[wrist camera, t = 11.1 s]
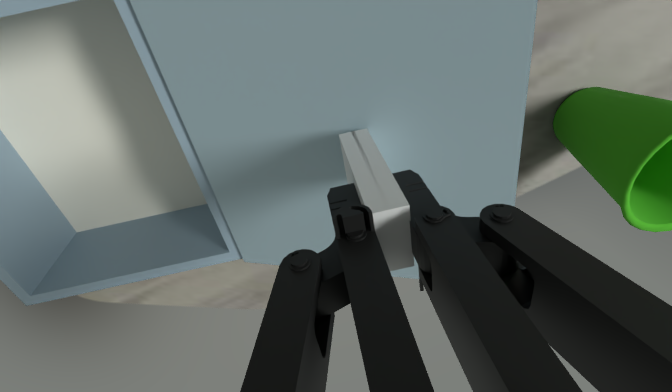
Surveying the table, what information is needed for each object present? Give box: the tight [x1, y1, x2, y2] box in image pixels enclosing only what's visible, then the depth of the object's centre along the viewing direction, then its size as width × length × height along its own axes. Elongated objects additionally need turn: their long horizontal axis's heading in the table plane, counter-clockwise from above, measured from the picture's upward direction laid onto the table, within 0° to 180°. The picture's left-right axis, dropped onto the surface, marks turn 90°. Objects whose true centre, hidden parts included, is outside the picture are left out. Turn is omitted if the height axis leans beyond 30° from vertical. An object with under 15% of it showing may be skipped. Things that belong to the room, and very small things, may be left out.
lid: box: [130, 0, 538, 279], centre depth 19 cm, size 18×17×1 cm
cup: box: [553, 87, 672, 232], centre depth 28 cm, size 9×9×11 cm
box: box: [0, 0, 243, 306], centre depth 25 cm, size 18×16×8 cm
